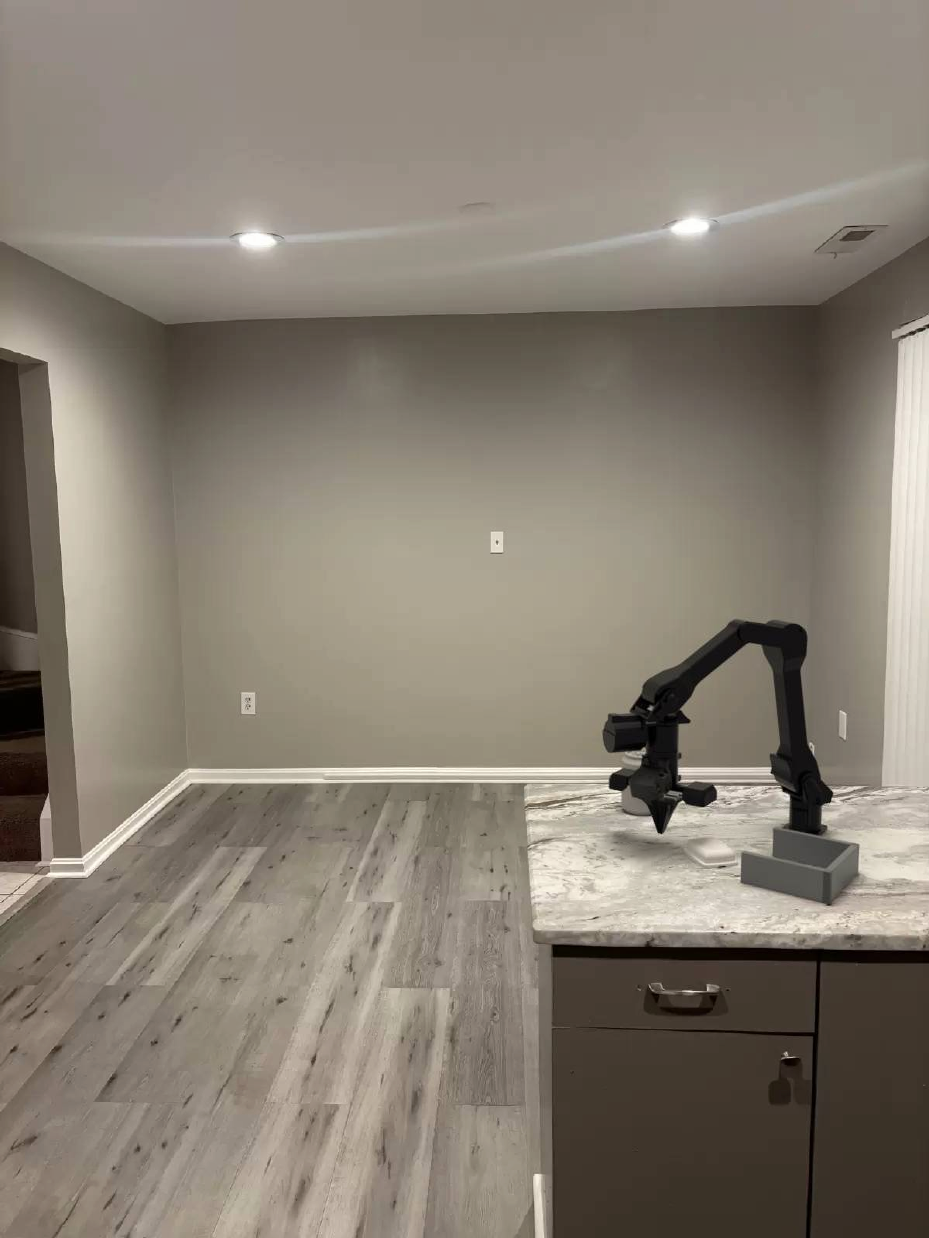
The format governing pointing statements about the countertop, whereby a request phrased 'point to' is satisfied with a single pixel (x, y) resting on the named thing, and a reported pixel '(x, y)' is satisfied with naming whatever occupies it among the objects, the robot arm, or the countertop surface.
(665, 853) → the countertop surface
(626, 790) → the can
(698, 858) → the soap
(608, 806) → the countertop surface
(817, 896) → the box
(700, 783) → the robot arm
